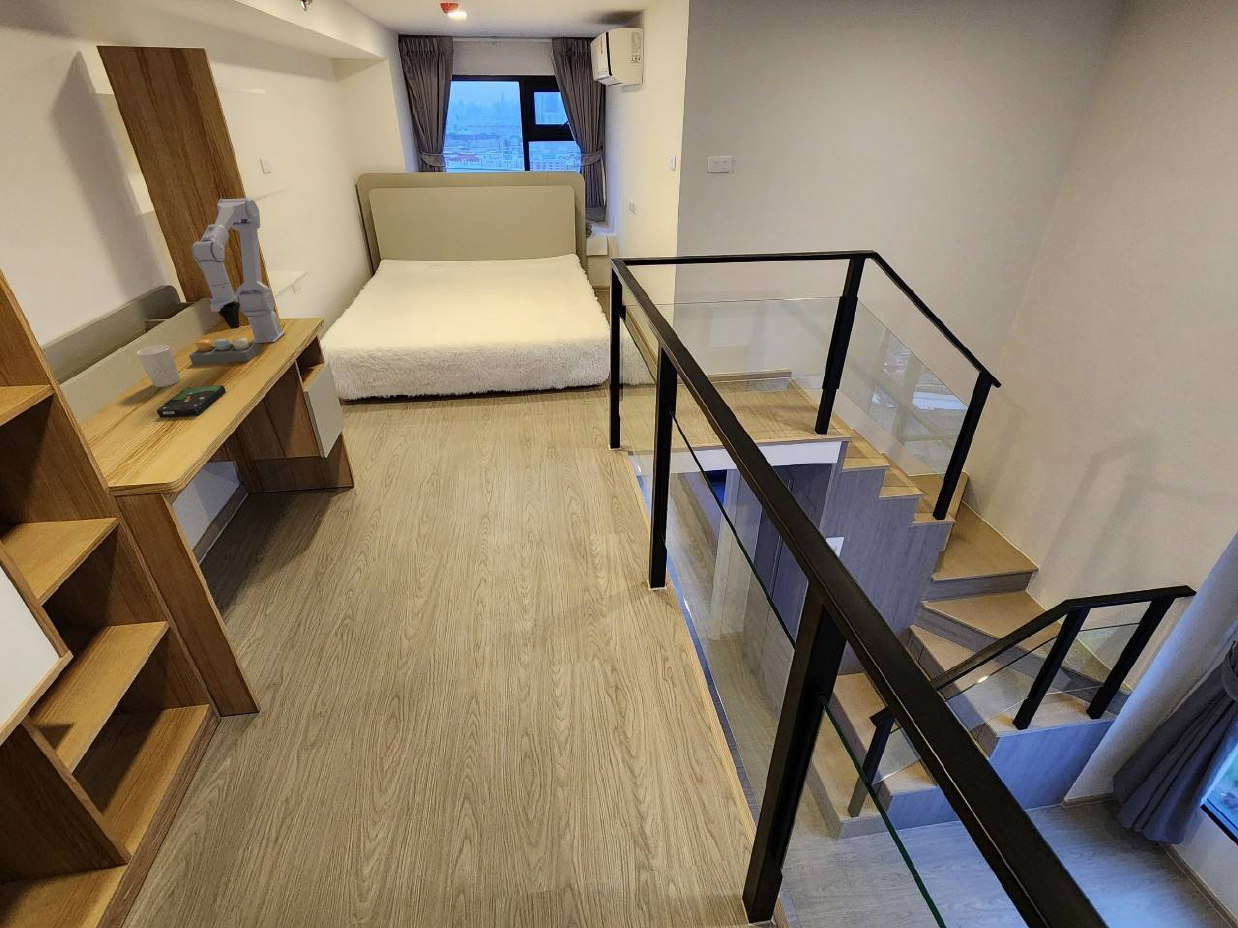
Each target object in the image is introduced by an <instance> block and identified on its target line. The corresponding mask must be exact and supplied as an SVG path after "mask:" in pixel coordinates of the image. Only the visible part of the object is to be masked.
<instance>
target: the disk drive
mask: <svg viewBox="0 0 1238 928" xmlns="http://www.w3.org/2000/svg"><path fill="white" fill-rule="evenodd" d="M226 393H227V391H226V389H225V386H224V385H223V384H222V385H220V384H219V385H204V386H195V387H191V386H190V387H189V386H188V387H187V388H184V389H182V390H181V391H180V392H179V393H177V394H176V395H175V396H173V397H172V398H171V399H169V400H168V401H167V402H165V403H164V404H163V405H161V406H159V408H157V409H156V412H157V413H156V414H157V415H158V417H159V419H161V418H183V417H185V418H186V417H199V416H201V415H202V414H203V413H204V412H205V411H206V410H207V409H209V408H210V407H211V406H212V405H214V404H215V403H216V402H217V401H218V400H220V398H222V397H223V396H224V395H225V394H226Z"/></svg>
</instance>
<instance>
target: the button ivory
mask: <svg viewBox="0 0 1238 928" xmlns="http://www.w3.org/2000/svg"><path fill="white" fill-rule="evenodd" d="M248 343H249V342H248V338H247V337H245V336H244V337H237V338H234V339H232V344H233V345H234V347H235V349H236V350H243V349H246V348H248V347H249V344H248Z"/></svg>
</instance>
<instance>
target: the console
mask: <svg viewBox="0 0 1238 928" xmlns="http://www.w3.org/2000/svg"><path fill="white" fill-rule="evenodd" d="M248 344H249V347H248V348H246V349H243V350H236V349H235V347H234V345H233V343H230V345H231V348H230V349H228V350H225V351H217V349H216V346H215V343H213V344H212V346H213V349H212V350H210V351H206V352H199V350H198V348H197V349H196V350H195V351H193V352H191V353H190V354H189V355H188V356H189V359H190V361H191V363H192V365H194V366H195V365H208V364H209V365H211V363H212V364H227V363H230V362H231V363H247V362H250V361H251V360H252V359H254V358H255V357H256V356H257V355H259V354H260V353H261V351H262V350H261V347H260V343H258V342H251V341H250V342H248ZM231 363H230V364H231Z"/></svg>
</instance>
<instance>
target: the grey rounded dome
mask: <svg viewBox="0 0 1238 928" xmlns="http://www.w3.org/2000/svg"><path fill="white" fill-rule="evenodd" d="M213 344H215V346H216V349H217V351H225V350H228V349H230V348H231V345H230V344H231V343H230V339H229V338H219V339H216V340H214V341H213Z"/></svg>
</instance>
